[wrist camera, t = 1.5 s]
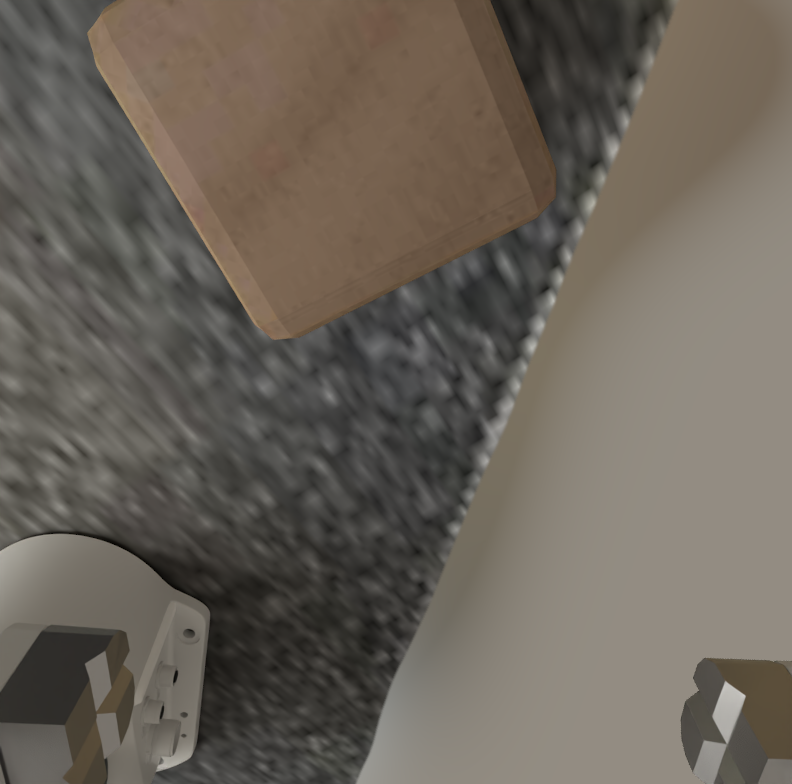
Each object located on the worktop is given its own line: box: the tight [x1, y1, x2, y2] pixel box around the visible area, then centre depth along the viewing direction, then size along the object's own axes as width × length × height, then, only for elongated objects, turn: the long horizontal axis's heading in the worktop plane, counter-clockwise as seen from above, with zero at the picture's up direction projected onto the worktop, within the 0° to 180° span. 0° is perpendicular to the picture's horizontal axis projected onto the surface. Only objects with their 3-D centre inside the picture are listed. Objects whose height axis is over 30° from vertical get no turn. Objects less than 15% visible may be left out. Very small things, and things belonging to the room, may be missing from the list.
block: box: [87, 0, 556, 340], centre depth 27 cm, size 10×10×20 cm
